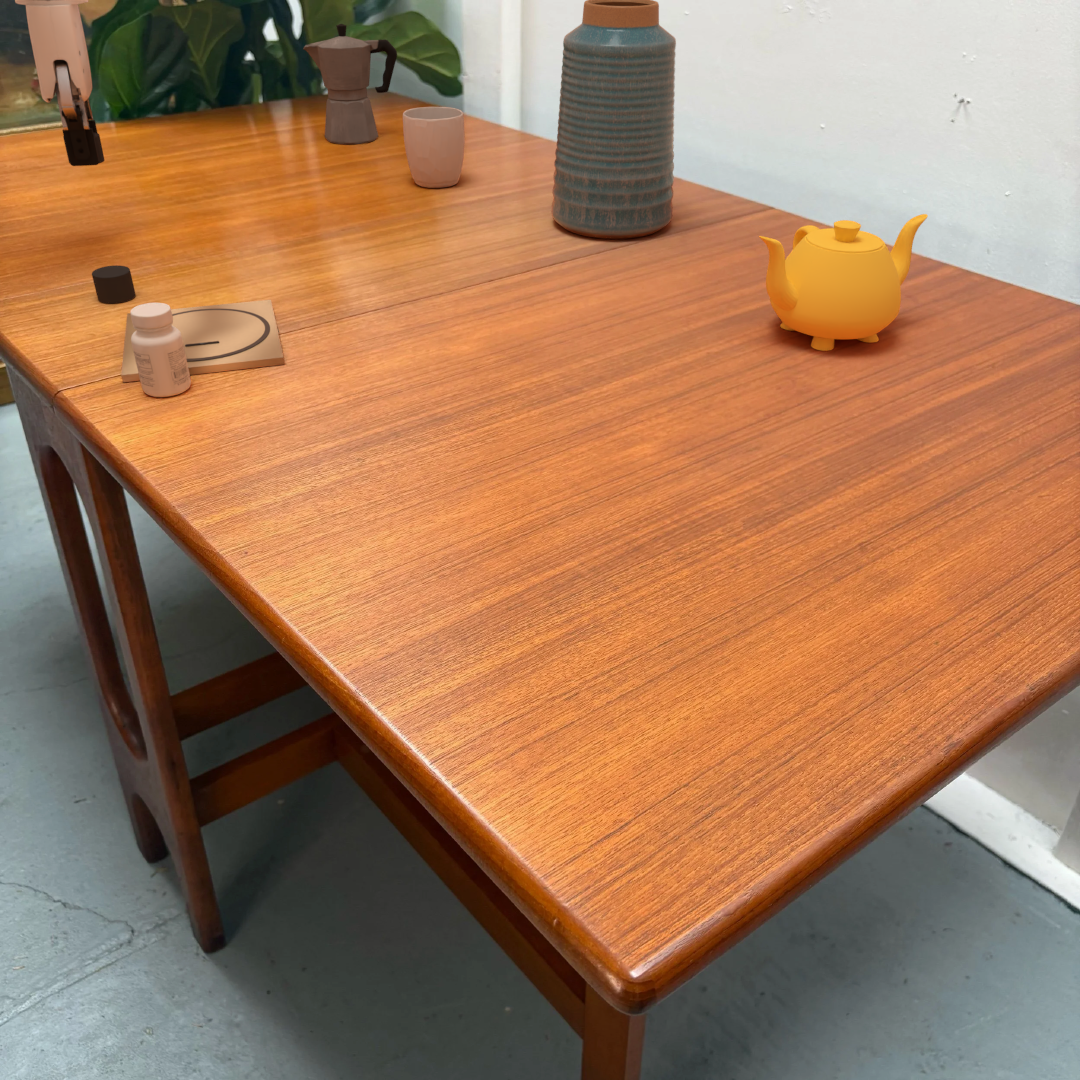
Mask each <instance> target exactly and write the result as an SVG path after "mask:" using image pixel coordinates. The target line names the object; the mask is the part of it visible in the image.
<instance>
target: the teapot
mask: <svg viewBox="0 0 1080 1080" xmlns="http://www.w3.org/2000/svg"><path fill="white" fill-rule="evenodd" d="M927 218H928V214H927V213H923V214H919V215H916V216H914V217H912V218H911V219H909V220H907V221H906V222H905V224H904V225H902V226H903V227H902V228H901V229H900V231H899V233H898V234H897V237H896V240H895V242H894V244H893V247H892V248H891V250H889V248H888V246H887V245H886V242H885V241H884V240H883V239H882V238H881V237H880V236H878V235H876V234H873V233H870V232H868V231H864V230H861V228H862V224H860V223H859V222H858V221H854V220H850V219H849V220H848V219H847V220H846V219H842V220H841V219H840V220H837V221H834V222H833V227H829V228H828V227H827V228H819V227H818V226H815V225H812V224H811V225H810V224H809V225H807V224H806V225H803V226H800V227H799V228H798V229H797V230H796V231H795V233H794V236H793V240H792V250H791V251H790V253H789V254H788V255H787V256H786V253H785V249H784V246H783V244H782V243H781V241H779V240H777V239H776V238H771V237H767V236H763V235H758V237H759V239H760V240H762V242H763V243H764V244H765V245H766V248H767V249H768V264H767V268H766V269H767V270H766V276H765V288H766V293H767V295H768V297H769V302H770V306H771V308H772V310H773V312H775V314H776V315H777V317H778V319H780V321H781V323H780V325H779V327H780V328H781V329H784V330H785V331H791V332H793V331H796V332H798V333H801V334H804V335H808V336H811V337H812V340H811V343H810V347H811V348H812V349H814V350H817V351H821V352H822V351H823V352H825V351H826V352H827V351H832V350H833V349H834V348H835V340H858V341H859V342H863V343H877V342H878V341H879V340H880V338H879V337H878V333H880V332H881V331H883V330H884V329H885V328H887V327H888V326H889V325H890V324H892V322H893V321H895V319H896V318H897V317H898V315H899V314H900V310H901V303H902V289H901V286H902V285H903V283H904V282H905V280H906V279H907V277H908V275H909V271H910V267H911V260H912V252H913V244H914V240H915V238H916V237H915V236H916V234H917V232H918V230H919V228H920V227H921V225H922V224H923V223H924V222H925V221H926V220H927Z"/></svg>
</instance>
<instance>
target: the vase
mask: <svg viewBox="0 0 1080 1080" xmlns="http://www.w3.org/2000/svg"><path fill="white" fill-rule="evenodd" d="M581 19H582V20H581V21H582V22H581V24H579V25H578V26H576V27H574V29H572V30H571V31H570V32H568V33H567V34H566V35H564V37H563V42H562V47H563V50H562V61H561V62H562V66H561V76H560V79H561V80H560V81H561V82H560V89H559V90H560V91H559V106H558V120H557V135H556V139H557V140H556V148H555V153H554V154H555V159H554V163H553V166H554V172H553V185H552V197H553V199H552V203H551V212H550V213H551V217H552V219H553V220H554V221H555V222H556V223H557V224H558V225H559V226H561V227H562V228H563V229H565V230H566V231H568V232H571V233H574V234H576V235H579V236H583V237H589V238H594V239H607V240H623V239H624V240H625V239H634V238H641V237H645V236H649V235H652V234H656V233H657V232H659V231H661V230H662V229H663V228H665V227H666V226H667V225H669V224H670V222H671V221H672V220H673V216H674V214H673V213H674V206H673V199H674V188H673V185H674V182H675V177H674V170H675V162H674V158H675V153H674V147H675V145H674V140H675V137H674V135H675V121H674V120H675V103H676V100H675V95H676V91H675V87H676V84H675V81H676V55H677V53H676V49H677V40H676V38H675V36H674V35H672V33H670V32H669V31H667V30H666V29H665V28H664V27H662V26H661V25H660V5H659V2H658V1H656V0H585V1H584V2H583V10H582V18H581Z"/></svg>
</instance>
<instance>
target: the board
mask: <svg viewBox="0 0 1080 1080" xmlns="http://www.w3.org/2000/svg"><path fill="white" fill-rule="evenodd" d="M171 312H172V316H173V324H172V325H171V326H174V327H176V328H177V329H178V330H179V331H180V332H181V335H182V340H183V345H184V350H185V354H186V359H187V364H188V369H189V374H190V376H194V375H203V374H211V373H220V372H230V371H237V370H247V369H256V368H264V367H273V366H282V365H285V364H286V363H285V357H284V353H283V347H282V344H281V339H280V334H279V329H278V325H277V320H276V316H275V312H274V306H273V302H272V299H263V300H262V299H261V300H252V301H241V302H232V303H221V304H212V305H201V306H191V307H190V306H189V307H182V308H180V307H179V308H171ZM135 331H136V329H135V328H134V327H133V323H132V319H131V313H130V312H129V313H128V312H127V313H126V321H125V332H124V343H123V353H122V361H121V371H120V377H121V380H122V383H133V382H140V377H139V373H138V369H137V365H136V360H135V356H134V352H133V348H132V343H131V336H132V334H133V333H134V332H135Z"/></svg>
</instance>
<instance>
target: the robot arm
mask: <svg viewBox="0 0 1080 1080" xmlns="http://www.w3.org/2000/svg"><path fill="white" fill-rule="evenodd" d="M14 2H15V4H17V5H23V6H25V13H26V19H27V21H26V22H27V27H28V33H29V37H30V43H31V49H32V53H33V58H34V63H35V68H36V74H37V79H38V83H39V89H40V94H41V98H42V100H43V101H44V102H46V103H47V104H48V103H50V104H51V102H52V101H53V98H55V95H56V100H57V105H58V109H59V115H60V120H61V126H62V135H63V136H64V138H63V141H64V140H65V143H64V145H65V144H66V147H65V149H66V148H67V151H66V154H67V153H68V156H67V158H68V157H69V160H68V163H69V162H70V163H69V165H71V166H72V167H83V166H85V167H87V166H97V165H99V164H100V163H99V158H98V153H97V148H96V144H95V139H94V134H93V132H95V133H98V128H97V124H96V121H95V119H94V116H93V111H92V107H91V102H90V96H91V94H92V91H93V78H92V72H91V65H90V58H89V52H88V47H87V42H86V37H85V32H84V31H85V30H84V26H83V22H82V16H81V12H80V7H79V5H82V4H84V3H85V4H87V3H89V0H14Z"/></svg>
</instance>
